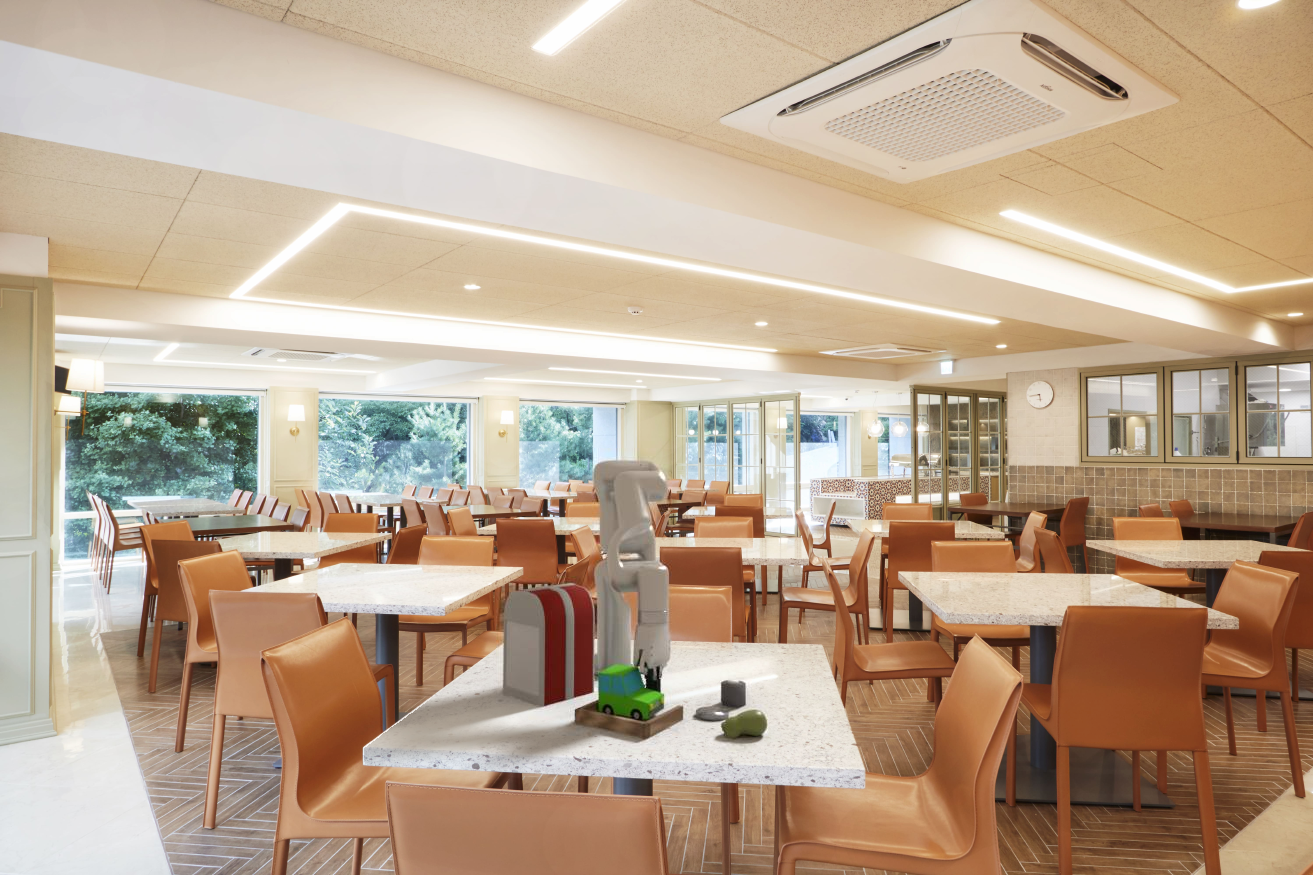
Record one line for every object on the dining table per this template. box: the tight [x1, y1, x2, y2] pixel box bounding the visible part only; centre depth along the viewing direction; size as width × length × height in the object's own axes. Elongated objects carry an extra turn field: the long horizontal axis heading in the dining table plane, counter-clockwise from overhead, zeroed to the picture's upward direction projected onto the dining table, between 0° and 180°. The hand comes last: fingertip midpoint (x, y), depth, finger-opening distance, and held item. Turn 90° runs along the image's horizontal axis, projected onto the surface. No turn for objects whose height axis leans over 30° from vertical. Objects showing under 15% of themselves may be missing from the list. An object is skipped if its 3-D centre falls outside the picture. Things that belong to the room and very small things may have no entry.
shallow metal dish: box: [695, 705, 730, 722], centre depth 178 cm, size 8×8×1 cm
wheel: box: [720, 678, 747, 709], centre depth 188 cm, size 6×6×6 cm
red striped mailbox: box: [502, 582, 596, 708], centre depth 197 cm, size 16×18×27 cm
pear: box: [720, 709, 768, 740], centre depth 165 cm, size 6×5×10 cm
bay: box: [574, 699, 684, 740], centre depth 174 cm, size 19×15×3 cm
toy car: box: [597, 664, 665, 721], centre depth 178 cm, size 10×13×10 cm
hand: (653, 695), depth 182 cm, fingers closed
